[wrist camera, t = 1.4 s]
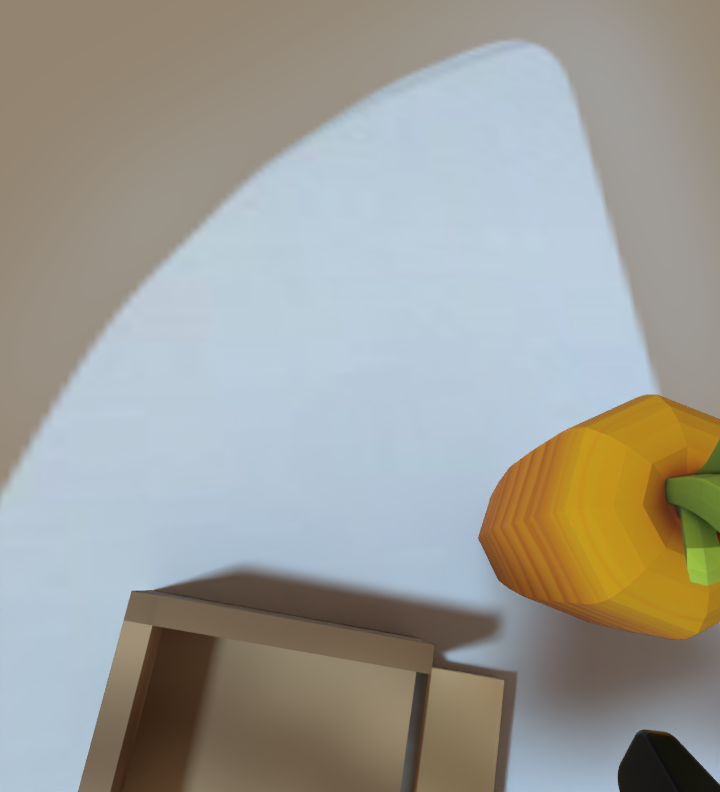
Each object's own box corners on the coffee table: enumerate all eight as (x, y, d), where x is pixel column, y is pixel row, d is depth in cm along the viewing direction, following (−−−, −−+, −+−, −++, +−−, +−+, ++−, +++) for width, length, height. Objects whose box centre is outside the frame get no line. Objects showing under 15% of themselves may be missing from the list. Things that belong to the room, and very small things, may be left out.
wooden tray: (469, 965, 19) (502, 1032, 16) (70, 907, 19) (31, 965, 16) (501, 652, 22) (534, 662, 19) (151, 590, 21) (131, 591, 18)
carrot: (559, 472, 24) (973, 301, 10) (576, 614, 23) (1088, 661, 8) (427, 474, 23) (660, 296, 9) (436, 620, 22) (728, 682, 8)
